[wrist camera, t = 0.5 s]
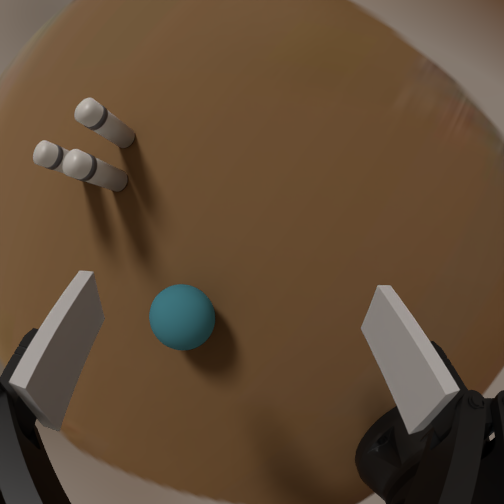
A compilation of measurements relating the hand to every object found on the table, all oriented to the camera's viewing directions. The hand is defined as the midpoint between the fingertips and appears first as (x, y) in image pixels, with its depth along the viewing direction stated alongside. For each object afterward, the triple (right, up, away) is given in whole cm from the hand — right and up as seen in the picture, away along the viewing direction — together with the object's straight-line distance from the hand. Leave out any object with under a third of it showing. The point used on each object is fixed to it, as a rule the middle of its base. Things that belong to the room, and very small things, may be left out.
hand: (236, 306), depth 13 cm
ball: (-6, -4, +12) cm, 14 cm away
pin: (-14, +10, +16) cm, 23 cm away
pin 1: (-19, +12, +16) cm, 27 cm away
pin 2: (-13, +15, +16) cm, 26 cm away
